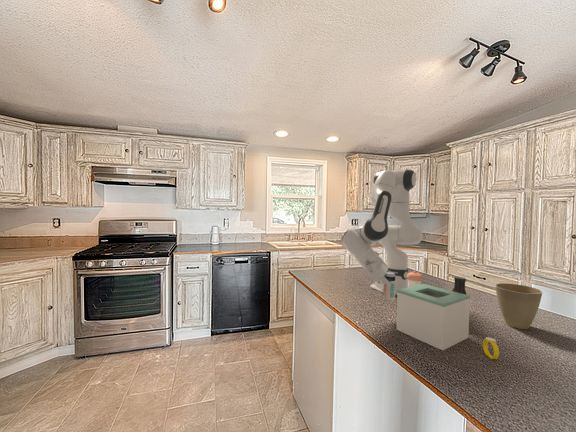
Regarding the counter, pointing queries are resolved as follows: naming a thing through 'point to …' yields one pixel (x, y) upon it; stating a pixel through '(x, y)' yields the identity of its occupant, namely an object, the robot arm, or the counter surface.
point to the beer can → (389, 291)
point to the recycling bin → (433, 315)
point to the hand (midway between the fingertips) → (390, 283)
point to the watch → (495, 347)
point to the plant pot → (518, 304)
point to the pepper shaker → (414, 278)
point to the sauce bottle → (459, 285)
